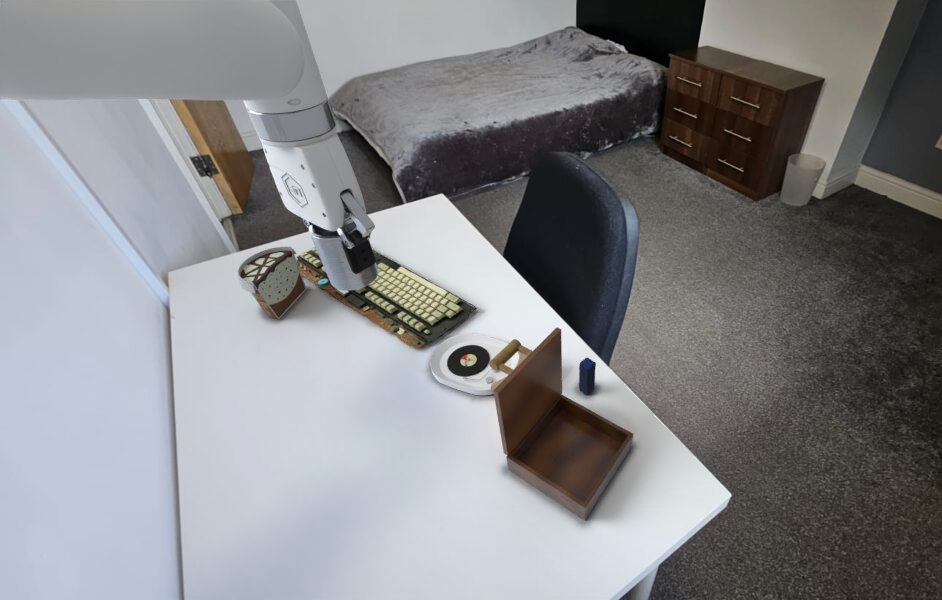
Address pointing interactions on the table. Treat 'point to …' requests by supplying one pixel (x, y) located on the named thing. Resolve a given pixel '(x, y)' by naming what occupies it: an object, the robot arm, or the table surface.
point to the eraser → (587, 376)
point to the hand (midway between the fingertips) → (347, 257)
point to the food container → (273, 279)
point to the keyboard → (395, 300)
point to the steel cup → (339, 259)
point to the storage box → (571, 455)
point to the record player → (470, 363)
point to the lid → (527, 387)
